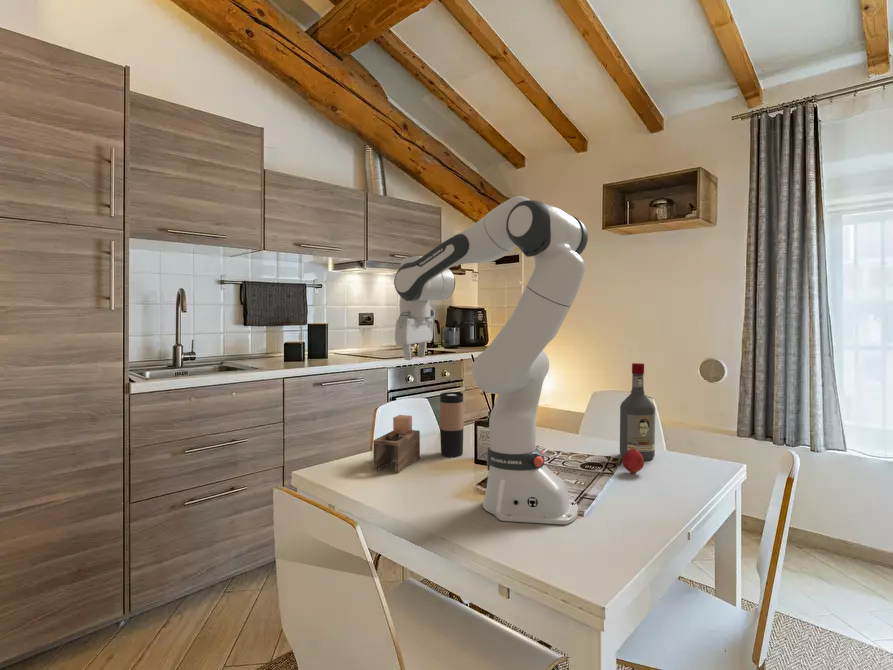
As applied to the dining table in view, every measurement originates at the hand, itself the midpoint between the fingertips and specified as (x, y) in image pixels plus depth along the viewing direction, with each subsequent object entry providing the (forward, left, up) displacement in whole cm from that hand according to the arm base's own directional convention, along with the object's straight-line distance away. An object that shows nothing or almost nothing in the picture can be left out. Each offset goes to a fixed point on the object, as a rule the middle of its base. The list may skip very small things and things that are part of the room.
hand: (414, 358), depth 154 cm
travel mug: (-5, -18, -33) cm, 38 cm away
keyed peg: (+7, -6, -28) cm, 29 cm away
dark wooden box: (+7, -2, -33) cm, 34 cm away
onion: (-61, -16, -33) cm, 71 cm away
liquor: (-62, -35, -33) cm, 79 cm away
